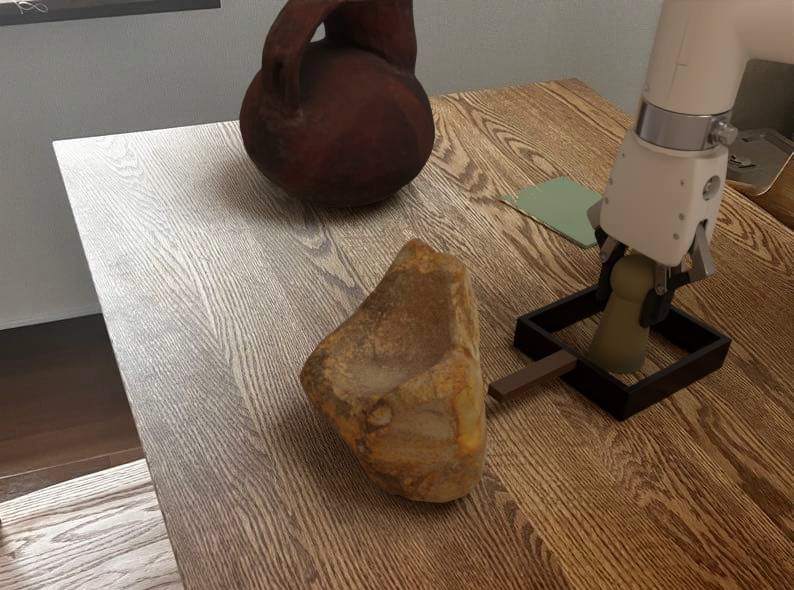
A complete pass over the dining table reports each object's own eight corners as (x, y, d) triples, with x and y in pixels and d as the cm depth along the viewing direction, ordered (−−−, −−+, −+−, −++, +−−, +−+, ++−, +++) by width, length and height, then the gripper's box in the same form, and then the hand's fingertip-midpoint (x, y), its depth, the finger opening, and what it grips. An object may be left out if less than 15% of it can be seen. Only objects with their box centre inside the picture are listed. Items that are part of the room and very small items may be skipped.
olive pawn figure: (632, 338, 90) (659, 243, 81) (653, 371, 86) (684, 275, 78) (579, 342, 89) (601, 247, 81) (598, 375, 85) (623, 279, 77)
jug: (210, 182, 112) (180, -35, 94) (350, 135, 124) (348, -65, 106) (326, 253, 100) (318, 20, 82) (468, 194, 112) (489, -22, 94)
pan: (611, 301, 95) (618, 273, 92) (721, 367, 86) (732, 339, 84) (440, 378, 84) (442, 349, 81) (547, 462, 76) (553, 433, 73)
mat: (562, 178, 116) (563, 175, 116) (649, 223, 108) (650, 220, 107) (499, 200, 111) (500, 196, 111) (585, 249, 103) (586, 245, 102)
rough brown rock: (314, 362, 86) (293, 230, 75) (472, 354, 86) (475, 219, 74) (300, 528, 71) (271, 394, 60) (492, 520, 71) (499, 383, 59)
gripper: (793, 146, 67) (720, 337, 80) (634, 82, 76) (592, 263, 89) (735, 169, 64) (670, 363, 77) (577, 98, 73) (543, 284, 86)
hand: (629, 308), depth 83 cm, fingers closed on olive pawn figure, 5 cm apart
